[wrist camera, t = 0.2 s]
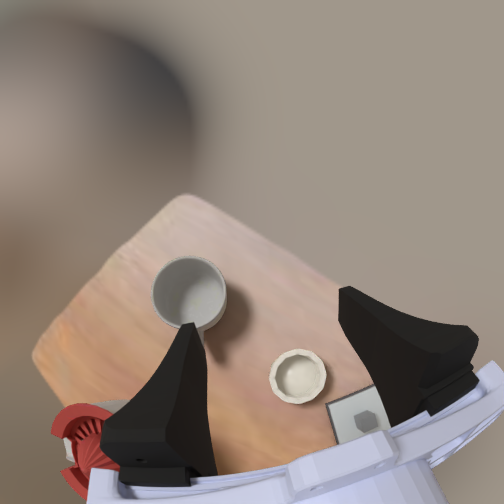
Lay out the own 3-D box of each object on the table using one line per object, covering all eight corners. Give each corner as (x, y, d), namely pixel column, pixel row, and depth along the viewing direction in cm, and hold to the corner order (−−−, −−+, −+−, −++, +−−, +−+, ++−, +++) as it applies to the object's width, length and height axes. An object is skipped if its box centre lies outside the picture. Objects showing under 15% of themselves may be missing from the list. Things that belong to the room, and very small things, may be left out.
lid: (390, 429, 35) (400, 434, 31) (341, 451, 34) (348, 458, 31) (378, 384, 38) (388, 385, 34) (328, 405, 38) (334, 409, 34)
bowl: (326, 389, 39) (332, 392, 35) (277, 405, 38) (278, 410, 35) (312, 343, 42) (316, 342, 38) (263, 358, 41) (263, 358, 38)
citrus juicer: (96, 391, 39) (17, 395, 21) (186, 392, 40) (131, 411, 21) (111, 468, 34) (45, 502, 15) (201, 476, 34) (163, 536, 15)
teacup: (171, 271, 47) (155, 254, 40) (233, 272, 47) (227, 254, 40) (164, 351, 42) (145, 349, 35) (230, 356, 42) (222, 355, 34)
